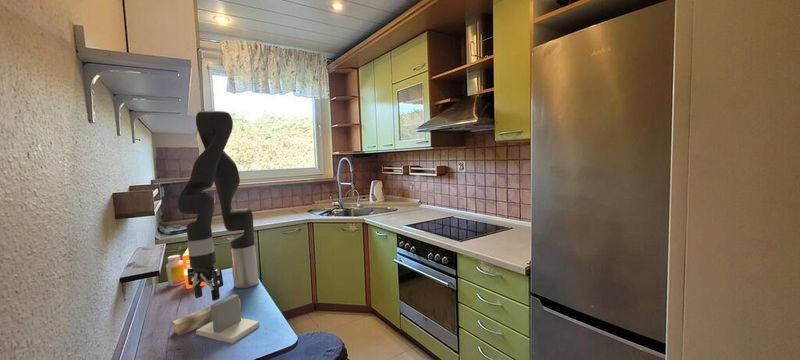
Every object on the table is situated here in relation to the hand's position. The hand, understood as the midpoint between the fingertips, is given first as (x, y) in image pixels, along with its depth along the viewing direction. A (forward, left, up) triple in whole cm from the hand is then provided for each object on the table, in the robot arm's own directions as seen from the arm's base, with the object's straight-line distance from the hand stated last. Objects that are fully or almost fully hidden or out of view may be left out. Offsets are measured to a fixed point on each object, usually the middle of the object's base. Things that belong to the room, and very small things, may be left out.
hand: (207, 298), depth 111 cm
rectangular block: (0, 0, -8) cm, 8 cm away
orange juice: (-38, +22, -8) cm, 45 cm away
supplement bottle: (-48, +19, -8) cm, 53 cm away
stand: (+13, -3, -8) cm, 15 cm away
